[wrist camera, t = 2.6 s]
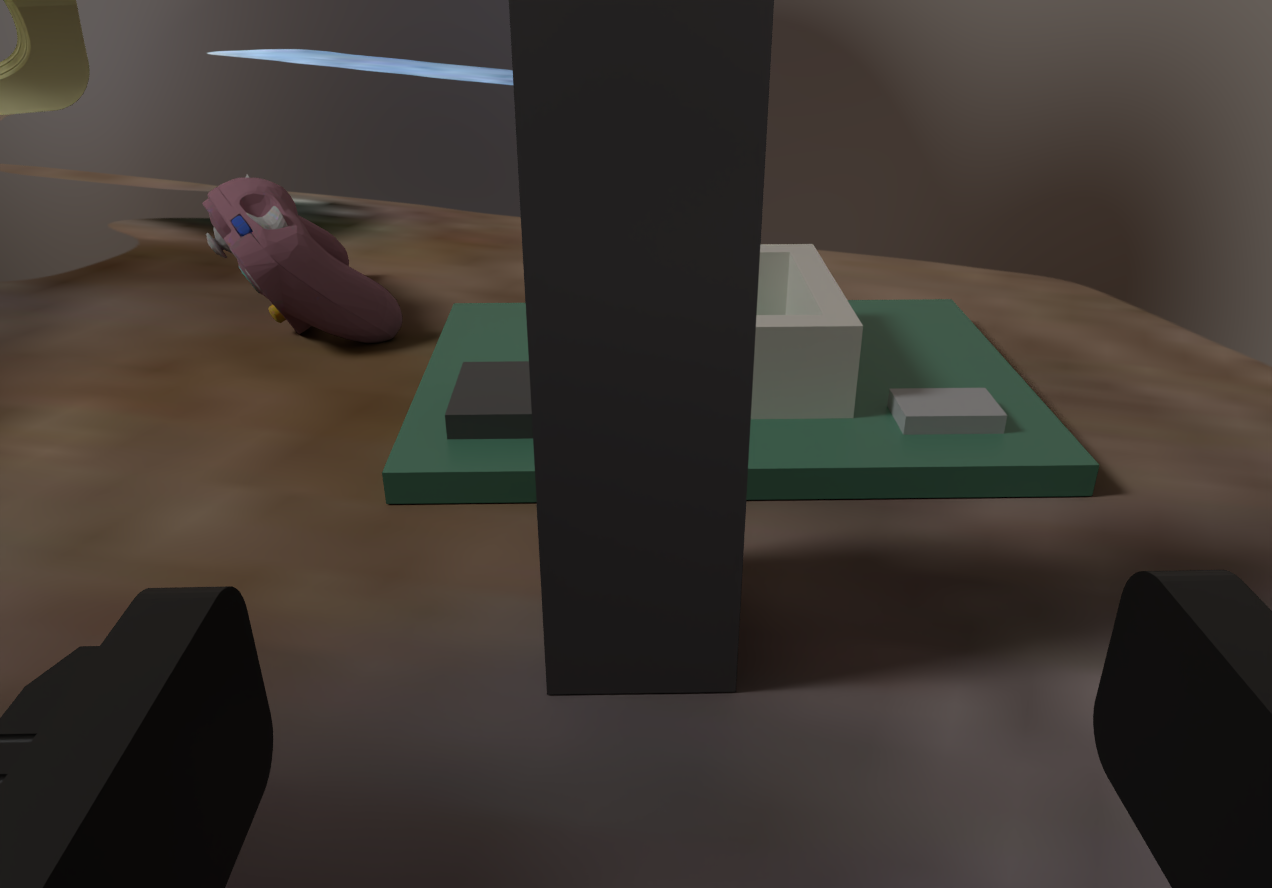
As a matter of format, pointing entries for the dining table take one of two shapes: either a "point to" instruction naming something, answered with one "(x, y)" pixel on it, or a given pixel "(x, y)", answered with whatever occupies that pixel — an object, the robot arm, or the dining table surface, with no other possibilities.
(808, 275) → the circuit board
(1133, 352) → the dining table surface
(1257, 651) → the robot arm
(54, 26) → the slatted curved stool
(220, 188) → the video game controller
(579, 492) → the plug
